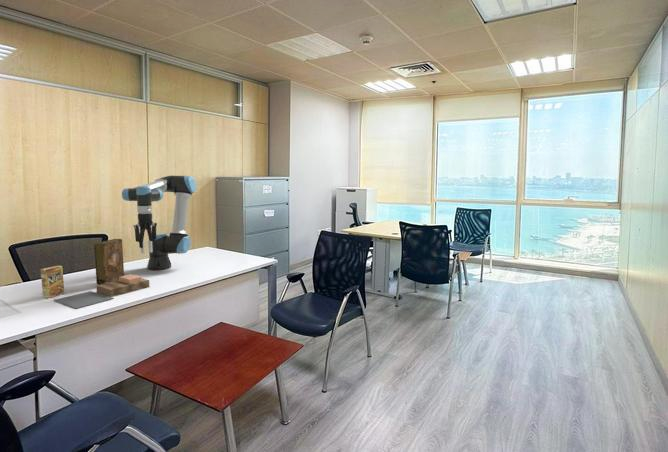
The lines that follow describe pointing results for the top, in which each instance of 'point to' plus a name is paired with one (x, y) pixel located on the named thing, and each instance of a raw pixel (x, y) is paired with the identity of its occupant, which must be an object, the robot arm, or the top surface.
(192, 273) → the top surface
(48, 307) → the top surface
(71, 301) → the mat
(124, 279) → the block
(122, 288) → the tan panel
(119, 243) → the book
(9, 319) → the top surface
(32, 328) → the top surface
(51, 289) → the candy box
